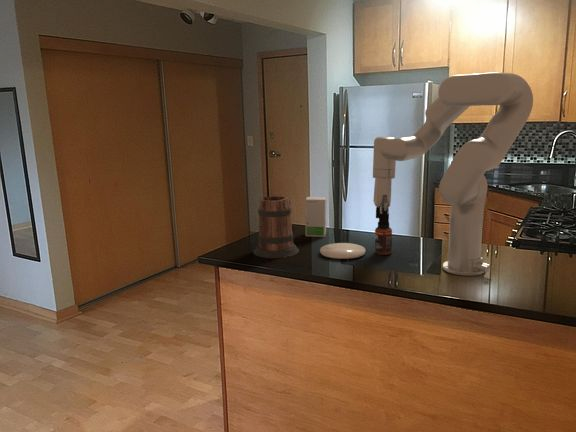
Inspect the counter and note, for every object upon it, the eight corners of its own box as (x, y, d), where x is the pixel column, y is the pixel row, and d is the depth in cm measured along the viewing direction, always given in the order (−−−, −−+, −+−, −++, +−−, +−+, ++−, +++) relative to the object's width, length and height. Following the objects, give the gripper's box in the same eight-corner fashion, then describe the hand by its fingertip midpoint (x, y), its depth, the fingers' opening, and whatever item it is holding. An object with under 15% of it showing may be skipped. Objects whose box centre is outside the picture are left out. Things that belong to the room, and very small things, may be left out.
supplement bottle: (394, 251, 168) (394, 221, 166) (388, 256, 164) (388, 224, 161) (378, 249, 172) (378, 219, 169) (372, 254, 167) (372, 223, 164)
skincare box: (305, 236, 192) (304, 199, 189) (307, 232, 198) (306, 196, 195) (325, 237, 191) (325, 199, 187) (327, 233, 197) (326, 196, 194)
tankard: (288, 260, 163) (286, 203, 159) (245, 255, 170) (242, 201, 165) (311, 242, 184) (310, 191, 180) (272, 238, 191) (270, 190, 186)
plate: (374, 254, 166) (374, 250, 165) (338, 263, 158) (338, 258, 157) (346, 244, 179) (346, 240, 179) (311, 252, 171) (311, 247, 171)
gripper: (370, 169, 170) (368, 215, 174) (375, 177, 153) (373, 227, 158) (391, 169, 170) (389, 215, 174) (398, 177, 153) (396, 228, 157)
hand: (381, 221), depth 166 cm, fingers open, 9 cm apart
